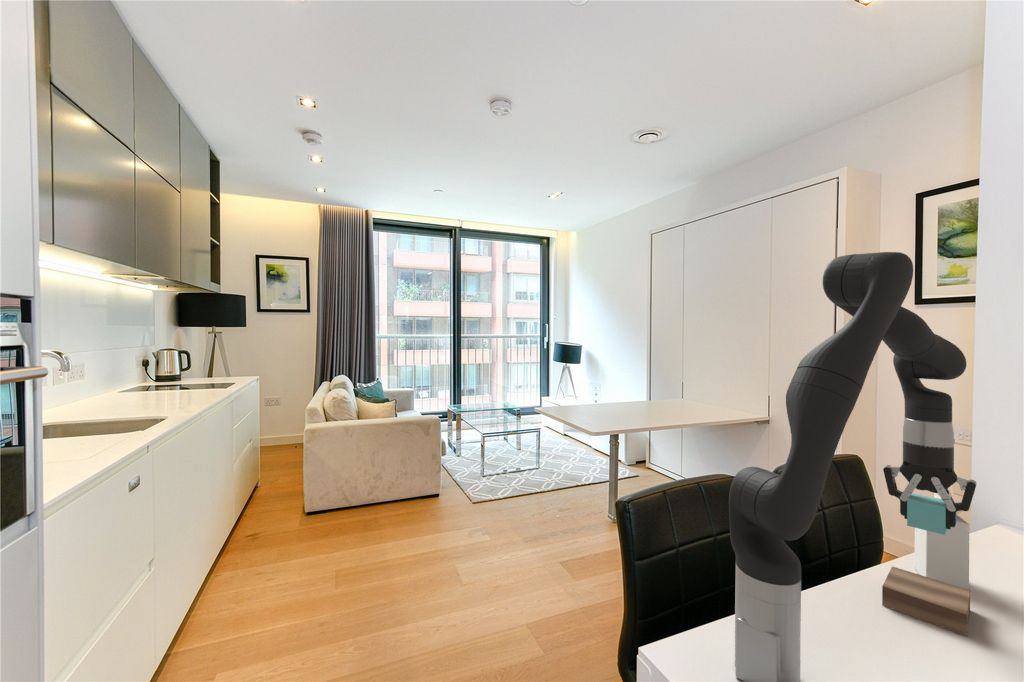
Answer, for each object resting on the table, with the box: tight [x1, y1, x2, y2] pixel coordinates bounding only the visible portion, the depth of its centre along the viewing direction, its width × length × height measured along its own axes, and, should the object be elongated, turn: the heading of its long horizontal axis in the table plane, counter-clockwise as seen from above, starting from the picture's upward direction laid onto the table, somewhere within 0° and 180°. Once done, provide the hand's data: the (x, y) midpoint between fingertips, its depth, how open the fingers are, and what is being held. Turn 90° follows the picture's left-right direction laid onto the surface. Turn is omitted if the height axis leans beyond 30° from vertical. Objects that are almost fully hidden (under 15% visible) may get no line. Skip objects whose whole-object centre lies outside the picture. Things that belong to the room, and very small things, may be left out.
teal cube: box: [906, 492, 947, 535], centre depth 87 cm, size 6×6×6 cm
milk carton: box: [914, 493, 970, 590], centre depth 97 cm, size 7×7×19 cm
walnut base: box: [881, 566, 971, 637], centre depth 87 cm, size 12×12×4 cm
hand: (927, 522), depth 87 cm, fingers closed on teal cube, 5 cm apart
